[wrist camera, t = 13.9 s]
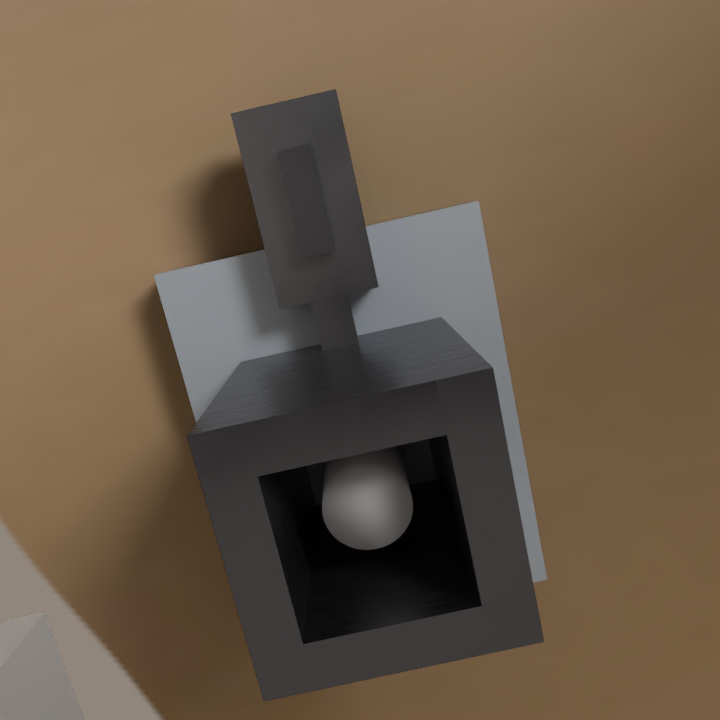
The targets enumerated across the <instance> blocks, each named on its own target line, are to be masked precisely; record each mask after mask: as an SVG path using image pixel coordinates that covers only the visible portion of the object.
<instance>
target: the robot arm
mask: <svg viewBox="0 0 720 720" xmlns="http://www.w3.org/2000/svg"><path fill="white" fill-rule="evenodd" d="M0 720H84V718H83V715H82V713H81V710H80V707H79V705H78V702H77V699H76V697H75V694H74V691H73V689H72V686H71V683H70V680H69V677H68V675H67V672H66V669H65V666H64V664H63V661H62V659H61V655H60V653H59V650H58V647H57V645H56V642H55V639H54V636H53V634H52V631H51V628H50V625H49V623H48V620H47V617H46V615H45V612H40V613H35V614H30V615H26V616H21V617H16V618H11V619H6V620H5V622H4V623H3V624H2V625H1V626H0Z"/></svg>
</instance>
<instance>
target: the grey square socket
mask: <svg viewBox="0 0 720 720" xmlns="http://www.w3.org/2000/svg"><path fill="white" fill-rule="evenodd" d="M231 116H232V120H233V124H234V128H235V132H236V136H237V140H238V144H239V148H240V152H241V156H242V160H243V164H244V168H245V172H246V176H247V180H248V184H249V188H250V192H251V196H252V200H253V204H254V208H255V212H256V216H257V220H258V224H259V228H260V232H261V236H262V240H263V244H264V249H265V253H266V257H267V261H268V265H269V269H270V273H271V277H272V281H273V285H274V289H275V293H276V297H277V301H278V305H279V309H284V308H289V307H293V306H298V305H302V304H306V303H311V306H312V310H313V315H314V319H315V323H316V327H317V331H318V335H319V340H320V344H318V345H314V346H309V347H305V348H300V349H296V350H291V351H287V352H283V353H278V354H274V355H269V356H265V357H260V358H256V359H251V360H247V361H242V362H240V364H239V365H238V366H237V368H236V369H235V370H234V372H233V373H232V375H231V376H230V377H229V379H228V380H227V381H226V383H225V384H224V385H223V387H222V388H221V390H220V391H219V392H218V394H217V395H216V396H215V398H214V399H213V400H212V402H211V403H210V405H209V406H208V407H207V409H206V410H205V411H204V413H203V414H202V415H201V417H200V418H199V420H198V421H197V422H196V424H195V425H194V426H193V428H192V429H191V430H190V432H189V433H188V434H187V439H188V442H189V445H190V449H191V452H192V456H193V459H194V463H195V466H196V469H197V473H198V476H199V480H200V483H201V487H202V490H203V494H204V497H205V500H206V504H207V507H208V511H209V514H210V518H211V521H212V524H213V528H214V531H215V535H216V538H217V542H218V545H219V549H220V552H221V555H222V559H223V562H224V566H225V569H226V573H227V576H228V580H229V583H230V586H231V590H232V593H233V597H234V600H235V604H236V607H237V610H238V614H239V617H240V621H241V624H242V628H243V631H244V635H245V638H246V641H247V645H248V648H249V652H250V655H251V659H252V662H253V665H254V669H255V672H256V676H257V679H258V683H259V686H260V690H261V693H262V696H263V700H264V701H268V700H272V699H277V698H282V697H287V696H291V695H296V694H301V693H305V692H310V691H315V690H320V689H324V688H329V687H334V686H338V685H343V684H348V683H352V682H357V681H362V680H367V679H371V678H376V677H381V676H385V675H390V674H395V673H400V672H404V671H409V670H414V669H418V668H423V667H428V666H432V665H437V664H442V663H447V662H451V661H456V660H461V659H465V658H470V657H475V656H479V655H484V654H489V653H494V652H498V651H503V650H508V649H512V648H517V647H522V646H527V645H531V644H536V643H541V642H544V639H543V634H542V628H541V623H540V618H539V612H538V607H537V601H536V596H535V591H534V585H533V580H532V574H531V569H530V564H529V558H528V553H527V548H526V542H525V537H524V531H523V526H522V521H521V515H520V510H519V504H518V499H517V494H516V488H515V483H514V478H513V472H512V467H511V461H510V456H509V451H508V445H507V440H506V434H505V429H504V424H503V418H502V413H501V408H500V402H499V397H498V391H497V386H496V381H495V375H494V370H493V367H492V366H491V365H490V364H489V363H488V362H487V361H486V360H485V359H484V358H483V357H482V356H481V355H480V354H479V353H478V352H477V351H476V350H475V349H474V348H473V347H472V346H471V345H469V344H468V343H467V342H466V341H465V340H464V339H463V338H462V337H461V336H460V335H459V334H458V333H457V332H456V331H455V330H454V329H453V328H452V327H451V326H450V325H449V324H448V323H447V322H446V321H445V320H444V319H443V318H442V317H439V318H434V319H430V320H425V321H421V322H416V323H412V324H407V325H403V326H399V327H394V328H390V329H385V330H381V331H376V332H372V333H367V334H363V335H357V330H356V326H355V321H354V317H353V313H352V308H351V304H350V299H349V295H348V294H351V293H355V292H360V291H364V290H368V289H373V288H377V287H379V286H378V281H377V277H376V272H375V267H374V263H373V258H372V254H371V249H370V244H369V240H368V235H367V231H366V226H365V221H364V217H363V212H362V208H361V203H360V198H359V194H358V189H357V184H356V180H355V175H354V171H353V166H352V161H351V157H350V152H349V148H348V143H347V138H346V134H345V129H344V125H343V120H342V115H341V111H340V106H339V101H338V97H337V92H336V89H334V90H330V91H326V92H322V93H317V94H313V95H309V96H304V97H300V98H296V99H291V100H287V101H283V102H279V103H274V104H270V105H266V106H261V107H257V108H253V109H248V110H244V111H240V112H236V113H231ZM426 439H428V442H429V446H430V451H431V456H432V461H433V465H434V470H435V475H436V480H431V481H427V482H422V483H417V484H413V485H409V488H410V492H411V496H412V501H413V513H412V517H411V521H410V523H409V525H408V527H407V529H406V530H405V531H404V533H403V534H402V535H401V536H400V537H399V538H398V539H397V540H395V541H394V542H392V543H391V544H389V545H387V546H384V547H382V548H378V549H373V550H361V549H356V548H352V547H349V546H347V545H345V544H343V543H341V542H340V541H338V540H337V539H336V538H335V537H334V536H333V535H332V534H331V533H330V531H329V530H328V528H327V526H326V524H325V522H324V519H323V515H322V504H321V505H317V506H316V502H315V498H314V494H313V490H312V486H311V482H310V478H309V474H308V470H307V466H308V465H312V464H317V463H321V462H326V461H330V460H335V459H340V458H344V457H349V456H353V455H358V454H362V453H367V452H371V451H376V450H380V449H385V448H390V447H394V446H399V445H403V444H408V443H412V442H417V441H421V440H426Z"/></svg>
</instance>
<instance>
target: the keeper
mask: <svg viewBox="0 0 720 720" xmlns="http://www.w3.org/2000/svg"><path fill="white" fill-rule="evenodd" d="M366 231H367V235H368V240H369V244H370V249H371V254H372V258H373V263H374V267H375V272H376V277H377V281H378V286H379V287H377V288H373V289H368V290H364V291H360V292H355V293H351V294H348V295H349V299H350V304H351V308H352V313H353V317H354V321H355V326H356V330H357V335H363V334H367V333H372V332H376V331H381V330H385V329H390V328H394V327H399V326H403V325H407V324H412V323H416V322H421V321H425V320H430V319H434V318H439V317H442V318H443V319H444V320H445V321H446V322H447V323H448V324H449V325H450V326H451V327H452V328H453V329H454V330H455V331H456V332H457V333H458V334H459V335H460V336H461V337H462V338H463V339H464V340H465V341H466V342H467V343H468V344H469V345H471V346H472V347H473V348H474V349H475V350H476V351H477V352H478V353H479V354H480V355H481V356H482V357H483V358H484V359H485V360H486V361H487V362H488V363H489V364H490V365H491V366H492V367H493V370H494V375H495V381H496V386H497V391H498V397H499V402H500V408H501V413H502V418H503V424H504V429H505V434H506V440H507V445H508V451H509V456H510V461H511V467H512V472H513V478H514V483H515V488H516V494H517V499H518V504H519V510H520V515H521V521H522V526H523V531H524V537H525V542H526V548H527V553H528V558H529V564H530V569H531V574H532V580H533V583H534V582H539V581H543V580H547V575H546V570H545V564H544V559H543V553H542V548H541V542H540V537H539V531H538V525H537V520H536V514H535V509H534V503H533V498H532V492H531V487H530V481H529V476H528V470H527V465H526V459H525V454H524V448H523V443H522V437H521V432H520V426H519V421H518V415H517V410H516V404H515V398H514V393H513V387H512V382H511V376H510V371H509V365H508V360H507V354H506V349H505V343H504V338H503V332H502V327H501V321H500V316H499V310H498V305H497V299H496V294H495V288H494V283H493V277H492V271H491V266H490V260H489V255H488V249H487V244H486V238H485V233H484V227H483V222H482V216H481V211H480V205H479V201H475V202H469V203H465V204H460V205H456V206H452V207H447V208H443V209H439V210H434V211H430V212H425V213H421V214H417V215H412V216H408V217H403V218H399V219H395V220H390V221H386V222H382V223H377V224H373V225H368V226H366ZM154 278H155V281H156V285H157V288H158V292H159V295H160V299H161V302H162V306H163V309H164V313H165V316H166V320H167V323H168V327H169V330H170V333H171V337H172V340H173V344H174V347H175V351H176V354H177V358H178V361H179V365H180V368H181V372H182V375H183V379H184V382H185V386H186V389H187V393H188V396H189V400H190V403H191V407H192V410H193V414H194V417H195V421H196V422H197V421H198V420H199V418H200V417H201V415H202V414H203V413H204V411H205V410H206V409H207V407H208V406H209V405H210V403H211V402H212V400H213V399H214V398H215V396H216V395H217V394H218V392H219V391H220V390H221V388H222V387H223V385H224V384H225V383H226V381H227V380H228V379H229V377H230V376H231V375H232V373H233V372H234V370H235V369H236V368H237V366H238V365H239V364H240V362H242V361H247V360H251V359H256V358H260V357H265V356H269V355H274V354H278V353H283V352H287V351H291V350H296V349H300V348H305V347H309V346H314V345H318V344H320V340H319V335H318V331H317V327H316V323H315V319H314V315H313V310H312V306H311V303H306V304H302V305H298V306H293V307H289V308H284V309H279V305H278V301H277V297H276V293H275V289H274V285H273V281H272V277H271V273H270V269H269V265H268V261H267V257H266V253H265V249H263V250H259V251H254V252H250V253H246V254H241V255H237V256H233V257H228V258H224V259H219V260H215V261H211V262H206V263H202V264H197V265H193V266H189V267H184V268H180V269H176V270H171V271H167V272H163V273H159V274H156V275H154ZM307 470H308V474H309V478H310V482H311V486H312V490H313V494H314V498H315V502H316V506H317V505H321V504H322V515H323V519H324V522H325V524H326V526H327V528H328V530H329V531H330V533H331V534H332V535H333V536H334V537H335V538H336V539H337V540H338V541H340V542H341V543H343V544H345V545H347V546H349V547H352V548H356V549H361V550H373V549H378V548H382V547H384V546H387V545H389V544H391V543H392V542H394V541H395V540H397V539H398V538H399V537H400V536H401V535H402V534H403V533H404V531H405V530H406V529H407V527H408V525H409V523H410V521H411V517H412V513H413V501H412V496H411V492H410V488H409V485H413V484H417V483H422V482H427V481H431V480H436V475H435V470H434V465H433V461H432V456H431V451H430V446H429V442H428V439H426V440H421V441H417V442H412V443H408V444H403V445H399V446H394V447H390V448H385V449H380V450H376V451H371V452H367V453H362V454H358V455H353V456H349V457H344V458H340V459H335V460H330V461H326V462H321V463H317V464H312V465H308V466H307Z"/></svg>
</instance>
